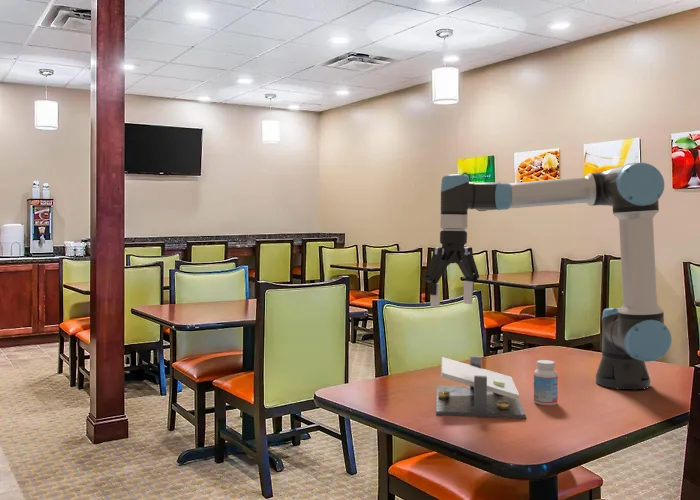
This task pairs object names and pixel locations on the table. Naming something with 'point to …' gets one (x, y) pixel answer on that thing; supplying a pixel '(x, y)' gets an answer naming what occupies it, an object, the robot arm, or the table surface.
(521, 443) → the table surface
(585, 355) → the table surface
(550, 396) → the pill bottle
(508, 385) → the stage
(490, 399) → the grey stand base
